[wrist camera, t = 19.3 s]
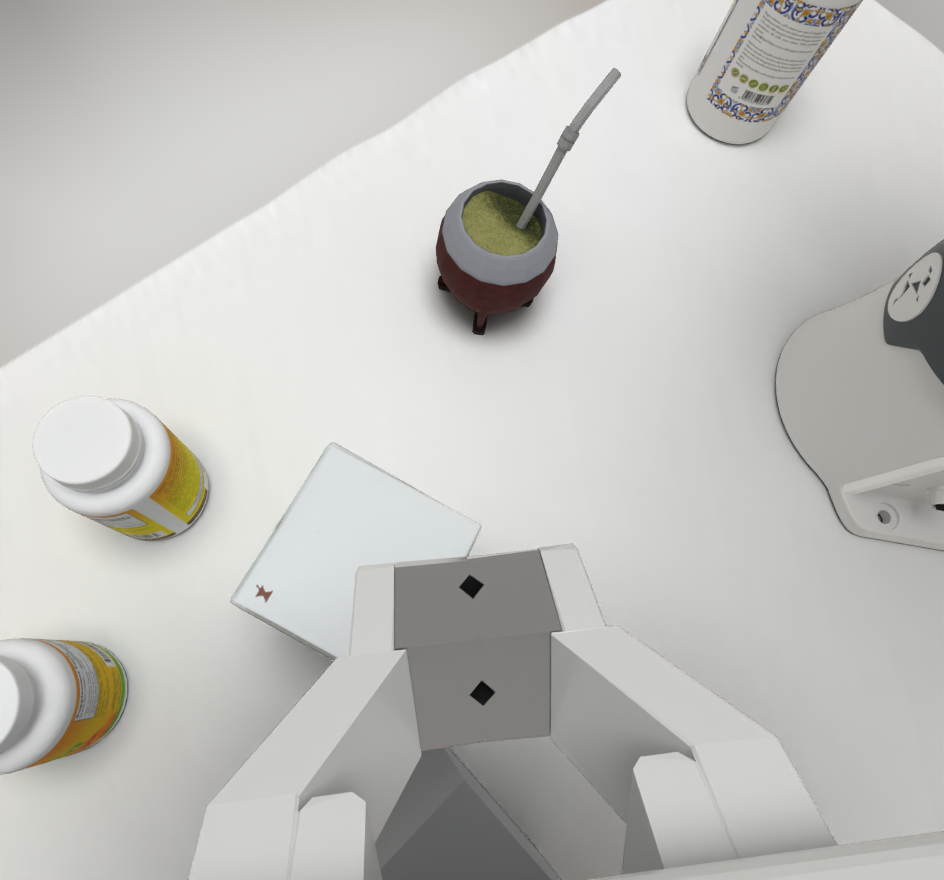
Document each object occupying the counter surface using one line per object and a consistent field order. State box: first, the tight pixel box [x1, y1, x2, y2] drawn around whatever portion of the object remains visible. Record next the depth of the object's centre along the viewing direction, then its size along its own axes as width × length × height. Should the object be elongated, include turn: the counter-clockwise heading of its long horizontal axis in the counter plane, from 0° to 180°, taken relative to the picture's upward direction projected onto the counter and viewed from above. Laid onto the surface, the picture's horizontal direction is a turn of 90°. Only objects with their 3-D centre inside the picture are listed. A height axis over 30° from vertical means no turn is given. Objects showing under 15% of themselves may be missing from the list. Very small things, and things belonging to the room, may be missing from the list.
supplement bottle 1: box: [33, 396, 209, 541], centre depth 33 cm, size 6×6×10 cm
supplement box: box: [230, 443, 482, 660], centre depth 32 cm, size 7×7×13 cm
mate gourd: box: [436, 68, 621, 335], centre depth 38 cm, size 8×8×15 cm
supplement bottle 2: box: [0, 638, 127, 775], centre depth 30 cm, size 5×5×10 cm
